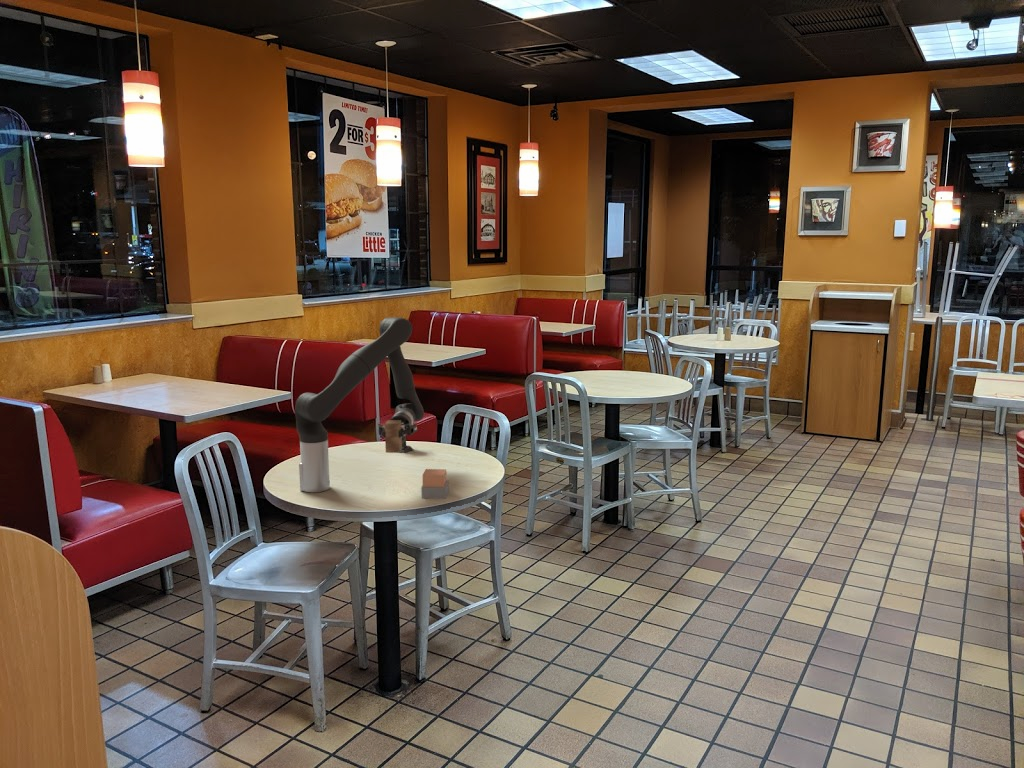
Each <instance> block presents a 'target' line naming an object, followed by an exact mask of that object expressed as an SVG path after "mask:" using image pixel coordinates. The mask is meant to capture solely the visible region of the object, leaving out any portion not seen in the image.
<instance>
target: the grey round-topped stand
mask: <svg viewBox="0 0 1024 768" xmlns="http://www.w3.org/2000/svg"><path fill="white" fill-rule="evenodd" d="M407 440H408V435H407V434H405V435H404V436H403V437H402V450H401V451H400V453H399V454H406V453H410V452H414V451H415V450H414V447H412V446H411V445H407Z"/></svg>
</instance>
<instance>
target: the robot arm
mask: <svg viewBox="0 0 1024 768" xmlns="http://www.w3.org/2000/svg"><path fill="white" fill-rule="evenodd" d="M378 331H379V337H377V339H375V340H373V341H372V342H369V343H368V344H366V345H364V346H362V347H360V348H358V349H357V350H355V351H354V352H353V353H351V354H350V355H349V356H348V357H347V358H345V360H343V362H342V363H341V364H340V365H339V367H338V369H337V371H336V373H335V376H334V378H333V380H332V381H331V382H330V384H329V385H327V386H326V387H325V388H324V389H323V390H322V391H320V392H319V393H313V392H304V393H302V394H300V395H299V396H298V398H297V399H296V401H295V405H294V406H295V407H294V414H295V423H296V431H297V434H298V437H299V446H300V447H299V451H300V452H299V453H300V463H299V464H298V471H299V473H298V474H299V490H300V491H302V492H305V493H320V492H325V491H328V490H330V489H331V488H330V485H331V484H330V459H329V458H330V457H329V438H328V437H329V436H328V435H329V434H328V431H327V429H325V427H324V425H323V424H322V422H323V421H325V420H326V419H328V418H329V416H330V415H331V414H332V413H333V412H334V410H335V409H336V408H337V407H338V406H339V404H340V403H341V402H342V401H343V400H344V399H345V398H346V397H347V396H348V395H349V394H351V392H352V391H353V390H354V389H355V388H356V387H357V386H358V385H359V384H360V383H361V382H363V381H364V380H365V379H366V378H367V377H368V376H369V375H370V374H371V373H372V372H374V370H375V369H376V368H377V367H378V366H379V365H380V364H381V363H382V362H384V360H385V359H386V358H387V359H388V362H389V366H390V368H391V372H392V376H393V383H394V388H395V393H396V397H397V398H398V399H403V400H408V401H409V402H408V403H402V404H398V405H397V406H396V407H395V412H394V415H392V417H391V418H390V419H389V420H401V429H400V430H399V438H401V437H403V436H404V435H405V434H406V435H407V436H411V435H413V434H415V433H418V425H417V423H415V422H420V421H422V420H423V418H424V416H425V410H424V407H423V405H422V403H421V400H420V399H419V396H418V394H417V391H416V388H415V387H416V386H415V382H414V377H413V373H412V371H411V368H410V366H409V364H408V363H407V360H406V358H405V357H404V353H403V351H402V347H401V346H402V345H403V344H404V343H406V342H407V341H408V340H409V339H410V337H411V335H412V333H413V325H412V323H411V321H409V319H407V318H403V317H398V316H397V317H394V316H393V317H385V318H384V319H383V320H381V322H380V324H379V328H378ZM414 423H415V424H414ZM377 432H378V435H380V436H381V437H382V438H384V439H385V438H386V436H385V425H383V424H382V423H378V424H377Z"/></svg>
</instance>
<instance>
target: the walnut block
mask: <svg viewBox="0 0 1024 768" xmlns="http://www.w3.org/2000/svg"><path fill="white" fill-rule="evenodd" d="M384 426H385V436H386V438H384V439H385V440H384V441H385V444H384V445H385V453H388V454H389V453H391V454H392V453H395V454H396V453H398V454H401V453H400V451H401V450H402V437H401V438H399V430H400V429H401V420H390V419H387V420H386V421H385V423H384Z"/></svg>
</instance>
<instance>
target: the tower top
mask: <svg viewBox="0 0 1024 768" xmlns="http://www.w3.org/2000/svg"><path fill="white" fill-rule="evenodd" d="M447 480H448V479H447V469H445V468H443V469H441V468H438V469H437V468H425V470H424V471H423V473H422V485H423V487H444V485H445V483H446V481H447Z"/></svg>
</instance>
